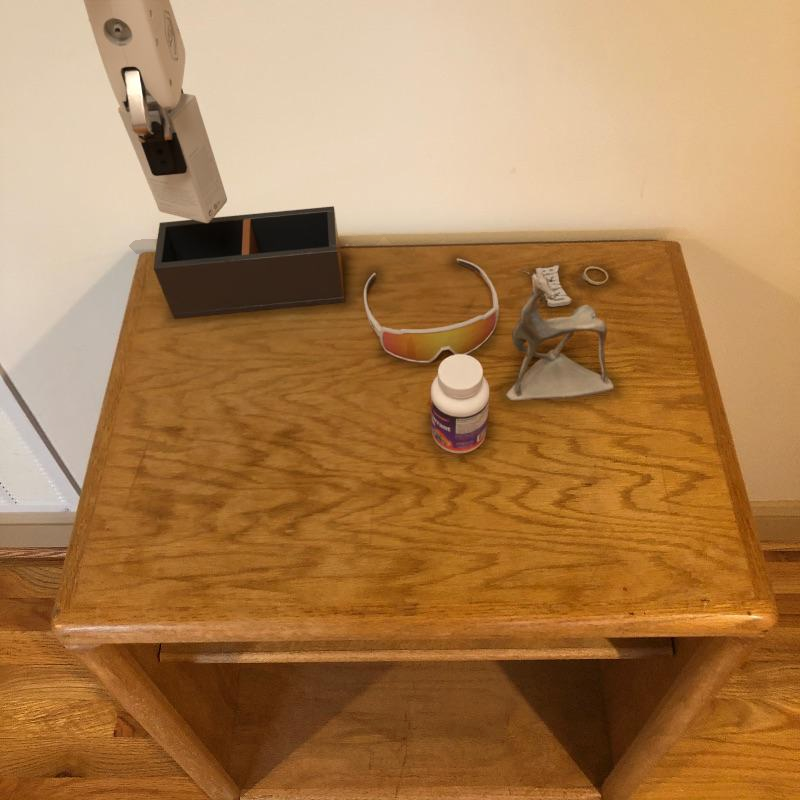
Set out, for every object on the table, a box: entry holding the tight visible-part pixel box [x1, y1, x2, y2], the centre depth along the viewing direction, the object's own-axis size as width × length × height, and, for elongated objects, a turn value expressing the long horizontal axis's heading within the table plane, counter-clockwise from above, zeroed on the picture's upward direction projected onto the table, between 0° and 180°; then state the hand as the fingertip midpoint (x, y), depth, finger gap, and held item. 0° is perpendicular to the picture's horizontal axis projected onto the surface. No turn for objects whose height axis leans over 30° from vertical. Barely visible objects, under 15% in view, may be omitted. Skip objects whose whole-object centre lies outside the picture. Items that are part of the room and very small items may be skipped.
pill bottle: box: [430, 354, 490, 454], centre depth 73 cm, size 5×5×10 cm
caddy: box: [152, 205, 345, 319], centre depth 87 cm, size 19×7×8 cm, turn 95°
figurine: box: [505, 272, 615, 401], centre depth 75 cm, size 11×6×15 cm, turn 91°
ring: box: [581, 265, 609, 286], centre depth 88 cm, size 3×1×3 cm
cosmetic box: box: [117, 92, 228, 223], centre depth 75 cm, size 6×4×12 cm
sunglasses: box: [363, 258, 500, 364], centre depth 85 cm, size 14×15×5 cm
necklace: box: [515, 264, 572, 308], centre depth 87 cm, size 7×1×5 cm
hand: (173, 148), depth 74 cm, fingers closed on cosmetic box, 6 cm apart
